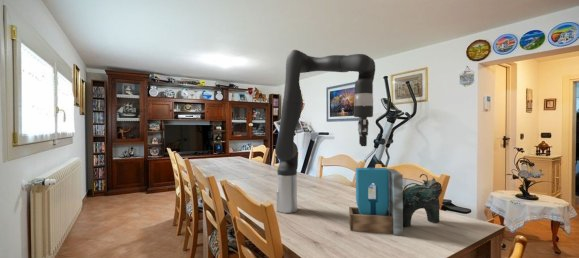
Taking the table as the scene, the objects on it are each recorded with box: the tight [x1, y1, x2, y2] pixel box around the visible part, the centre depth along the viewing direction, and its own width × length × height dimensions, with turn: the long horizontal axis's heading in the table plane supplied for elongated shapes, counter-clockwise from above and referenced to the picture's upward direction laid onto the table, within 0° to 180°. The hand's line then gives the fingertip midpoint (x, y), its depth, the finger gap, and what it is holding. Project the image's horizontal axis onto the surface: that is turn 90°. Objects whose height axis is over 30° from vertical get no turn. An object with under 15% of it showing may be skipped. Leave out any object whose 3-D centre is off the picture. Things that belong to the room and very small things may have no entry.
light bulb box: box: [368, 183, 376, 199], centre depth 137 cm, size 11×7×11 cm, turn 58°
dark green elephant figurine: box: [403, 173, 443, 228], centre depth 108 cm, size 20×6×20 cm, turn 108°
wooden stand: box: [348, 168, 404, 237], centre depth 105 cm, size 18×14×22 cm
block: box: [355, 167, 390, 216], centre depth 105 cm, size 12×5×20 cm, turn 81°
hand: (362, 145), depth 108 cm, fingers open, 8 cm apart
